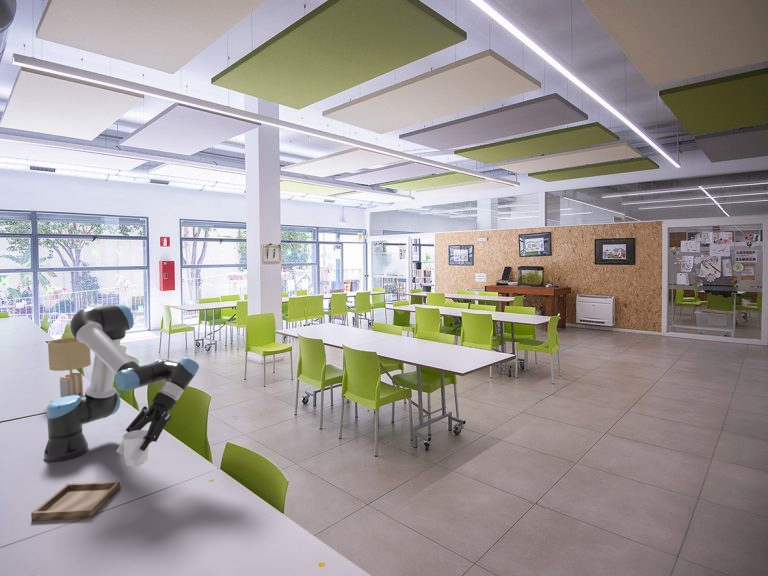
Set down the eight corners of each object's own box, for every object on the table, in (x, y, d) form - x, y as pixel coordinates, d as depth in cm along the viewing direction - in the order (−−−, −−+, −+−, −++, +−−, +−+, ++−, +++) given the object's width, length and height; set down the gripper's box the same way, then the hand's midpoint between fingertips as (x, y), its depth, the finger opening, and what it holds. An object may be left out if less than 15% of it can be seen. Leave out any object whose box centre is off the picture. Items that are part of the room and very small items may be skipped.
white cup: (123, 469, 147) (121, 441, 146) (124, 459, 154) (122, 432, 153) (149, 464, 151) (148, 436, 150) (149, 454, 158) (148, 428, 157)
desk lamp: (77, 406, 242) (73, 344, 240) (42, 406, 243) (38, 343, 240) (100, 395, 262) (97, 337, 259) (68, 395, 262) (65, 337, 259)
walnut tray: (31, 520, 138) (31, 513, 137) (67, 490, 155) (67, 483, 155) (91, 517, 139) (91, 510, 139) (120, 488, 157) (120, 481, 157)
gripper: (192, 406, 159) (152, 467, 147) (157, 396, 169) (117, 453, 157) (178, 396, 154) (136, 458, 142) (143, 387, 164) (101, 445, 152)
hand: (126, 456), depth 149 cm, fingers closed on white cup, 8 cm apart
